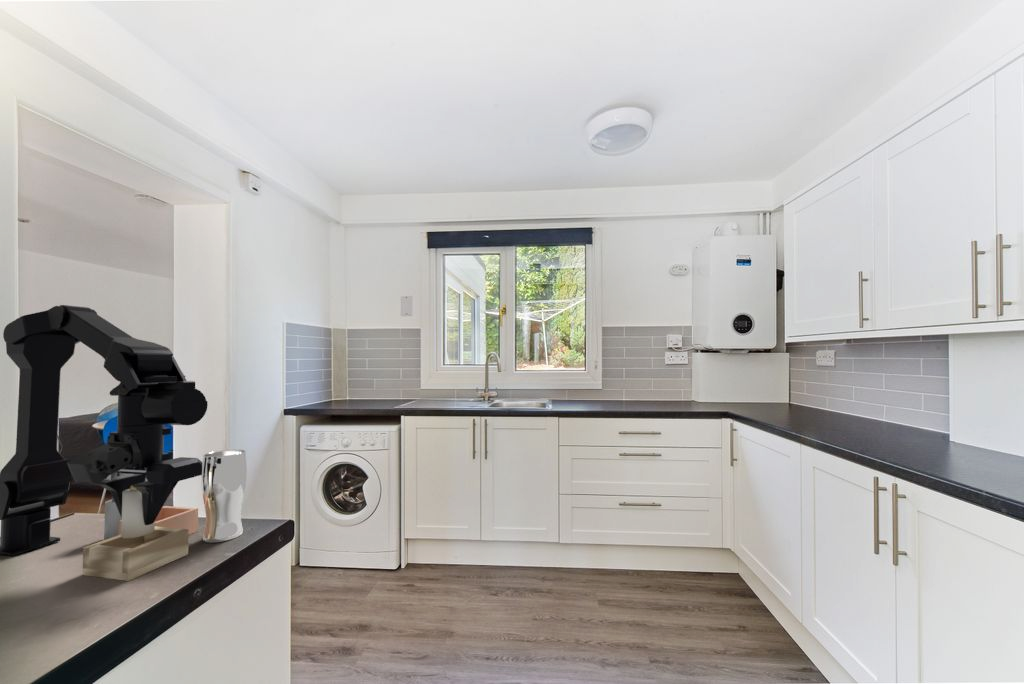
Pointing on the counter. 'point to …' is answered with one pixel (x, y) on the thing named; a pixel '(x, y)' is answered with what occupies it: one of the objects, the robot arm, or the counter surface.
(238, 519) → the beer glass
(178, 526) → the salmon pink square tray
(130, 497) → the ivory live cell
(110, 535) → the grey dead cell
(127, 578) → the frame
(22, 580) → the counter surface
